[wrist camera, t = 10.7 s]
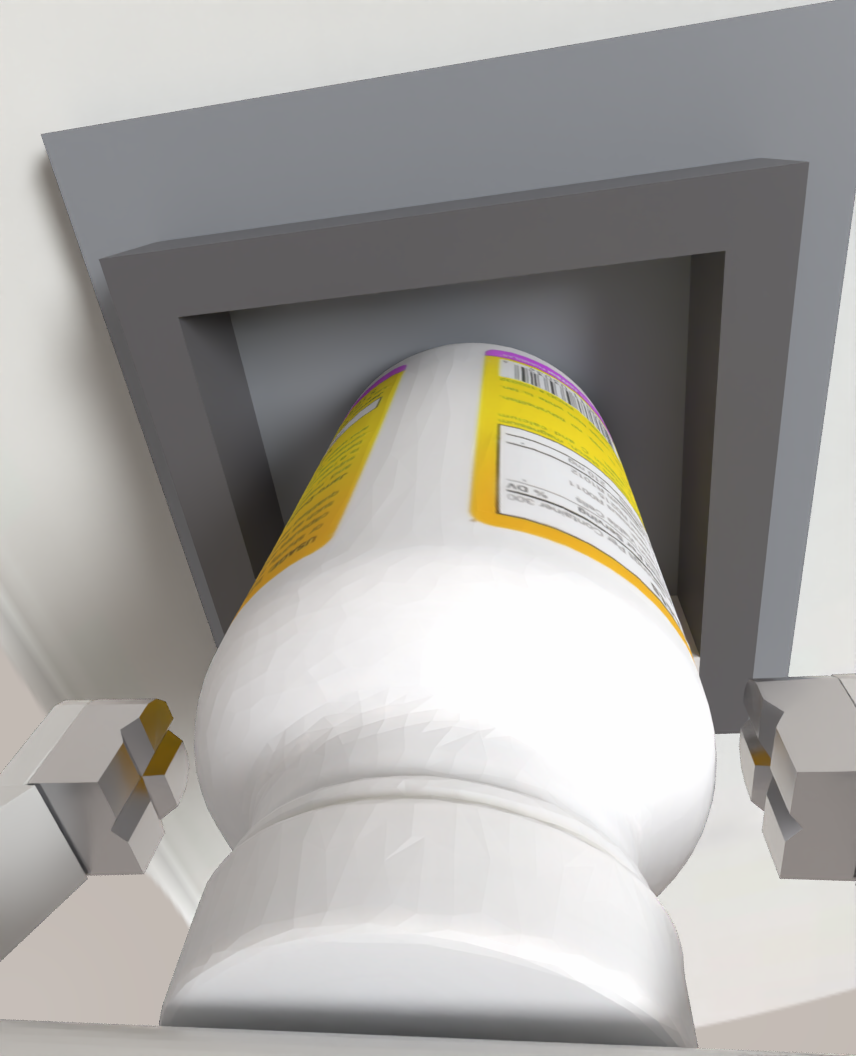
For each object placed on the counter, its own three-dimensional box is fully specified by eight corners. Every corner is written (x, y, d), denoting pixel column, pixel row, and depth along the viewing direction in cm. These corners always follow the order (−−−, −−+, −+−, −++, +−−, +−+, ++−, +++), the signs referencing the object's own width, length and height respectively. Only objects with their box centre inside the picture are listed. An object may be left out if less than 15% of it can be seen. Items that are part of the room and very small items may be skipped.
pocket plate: (67, 134, 15) (-42, 133, 12) (858, 2, 13) (966, -41, 10) (258, 716, 23) (220, 803, 20) (769, 701, 21) (814, 797, 18)
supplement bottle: (363, 591, 19) (165, 1223, 8) (314, 350, 16) (-122, 835, 5) (615, 578, 18) (787, 1276, 7) (615, 319, 15) (921, 833, 4)
